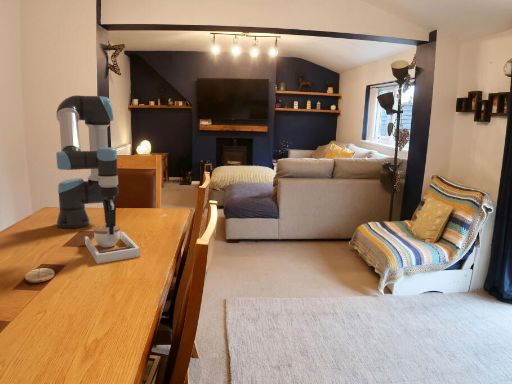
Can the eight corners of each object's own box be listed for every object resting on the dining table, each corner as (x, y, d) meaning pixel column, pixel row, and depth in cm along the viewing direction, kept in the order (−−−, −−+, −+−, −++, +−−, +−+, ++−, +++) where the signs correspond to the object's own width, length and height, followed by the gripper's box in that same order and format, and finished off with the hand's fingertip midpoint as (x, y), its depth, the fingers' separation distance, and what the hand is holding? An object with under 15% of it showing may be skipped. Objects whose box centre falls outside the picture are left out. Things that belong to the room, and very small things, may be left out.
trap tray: (96, 254, 159) (95, 251, 159) (129, 249, 166) (129, 246, 166) (100, 261, 152) (100, 257, 152) (134, 255, 160) (134, 251, 159)
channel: (85, 244, 171) (84, 236, 171) (123, 238, 180) (123, 231, 180) (97, 263, 150) (96, 255, 149) (140, 256, 159) (139, 248, 158)
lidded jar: (112, 249, 164) (110, 228, 163) (89, 248, 166) (87, 226, 165) (125, 242, 175) (124, 222, 173) (103, 240, 177) (102, 220, 175)
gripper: (95, 184, 163) (98, 238, 167) (102, 189, 152) (105, 247, 157) (114, 182, 167) (116, 236, 171) (121, 187, 156) (124, 244, 161)
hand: (111, 241), depth 164 cm, fingers closed
